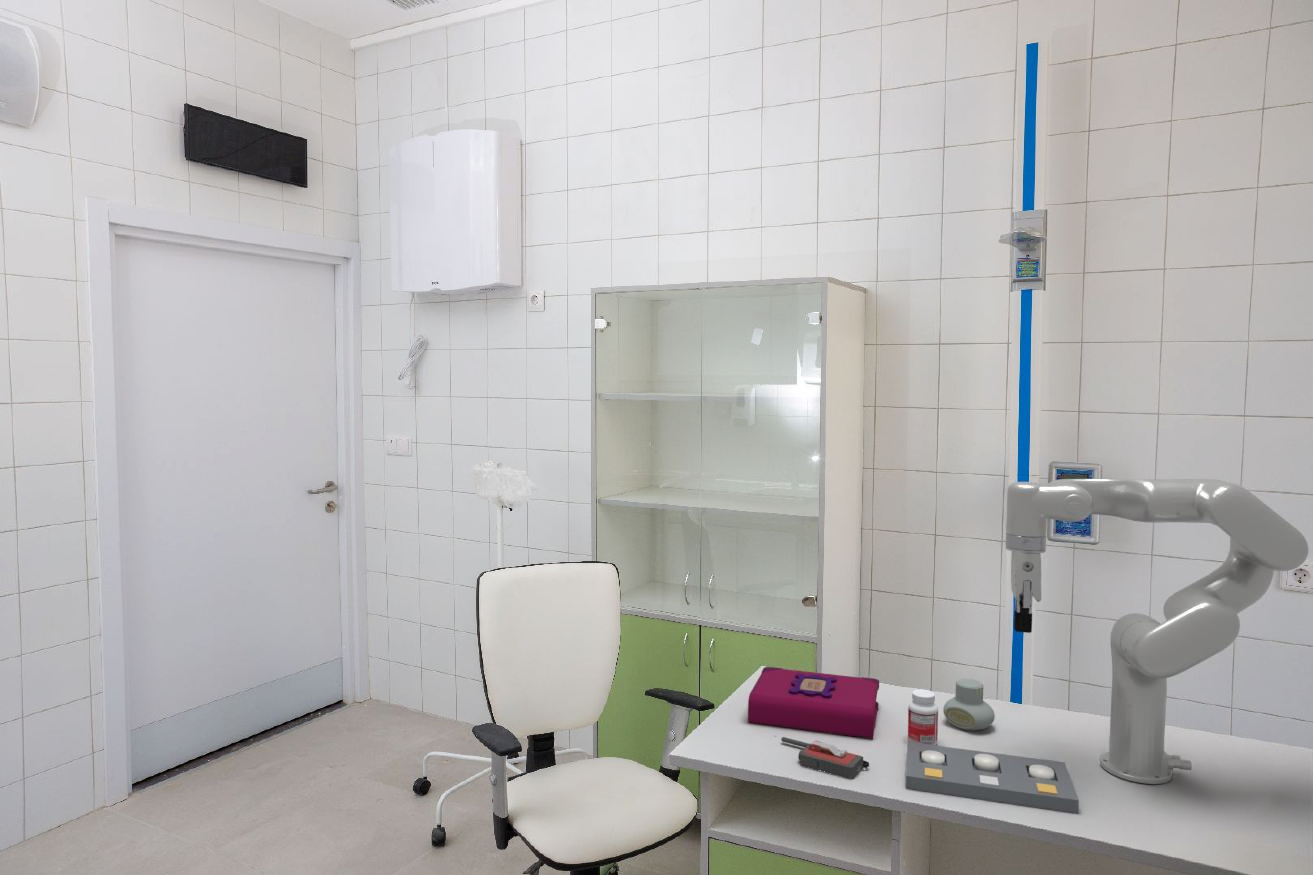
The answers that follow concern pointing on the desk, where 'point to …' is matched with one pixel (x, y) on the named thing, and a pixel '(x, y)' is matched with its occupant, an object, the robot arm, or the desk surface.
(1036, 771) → the near button
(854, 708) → the book
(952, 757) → the button board
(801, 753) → the walkie-talkie
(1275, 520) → the robot arm
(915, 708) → the pill bottle
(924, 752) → the far button
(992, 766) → the middle button
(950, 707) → the air freshener
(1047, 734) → the desk surface
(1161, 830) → the desk surface
